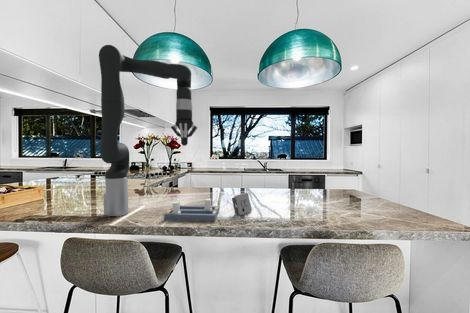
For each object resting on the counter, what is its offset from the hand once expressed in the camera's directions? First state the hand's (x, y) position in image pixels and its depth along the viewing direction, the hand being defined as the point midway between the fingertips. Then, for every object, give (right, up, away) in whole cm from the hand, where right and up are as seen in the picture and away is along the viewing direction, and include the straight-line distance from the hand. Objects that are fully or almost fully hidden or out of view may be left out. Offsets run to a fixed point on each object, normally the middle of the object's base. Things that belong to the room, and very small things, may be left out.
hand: (184, 145), depth 111 cm
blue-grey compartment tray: (+5, -32, -6) cm, 34 cm away
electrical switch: (+28, -33, -2) cm, 43 cm away
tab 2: (+12, -31, -4) cm, 33 cm away
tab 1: (-2, -31, -9) cm, 33 cm away
